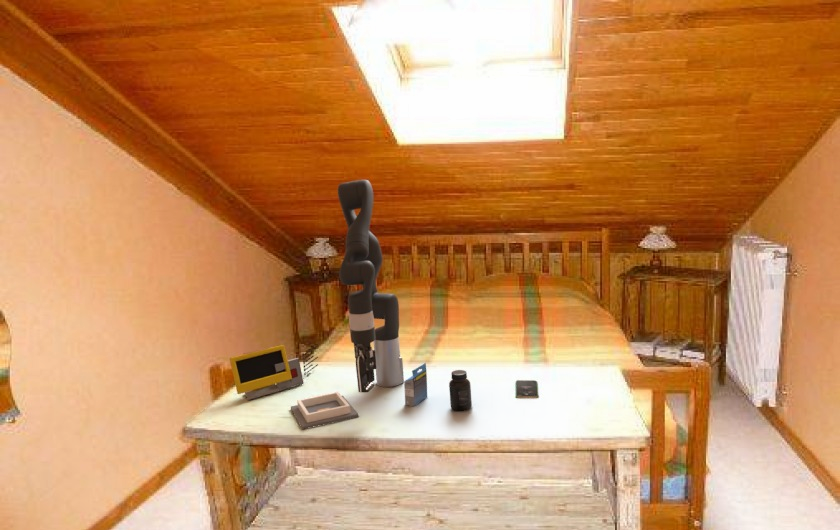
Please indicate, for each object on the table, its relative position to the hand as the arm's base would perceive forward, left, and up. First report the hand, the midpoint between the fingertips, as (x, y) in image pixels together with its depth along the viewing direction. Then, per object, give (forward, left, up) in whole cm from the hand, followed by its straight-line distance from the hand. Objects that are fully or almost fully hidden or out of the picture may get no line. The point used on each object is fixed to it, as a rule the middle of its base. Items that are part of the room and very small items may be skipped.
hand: (366, 377), depth 190 cm
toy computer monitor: (+26, -44, -14) cm, 53 cm away
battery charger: (0, 0, -4) cm, 4 cm away
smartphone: (-55, +4, -15) cm, 57 cm away
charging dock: (+11, -14, -14) cm, 23 cm away
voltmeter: (+11, -50, -15) cm, 53 cm away
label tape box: (-19, -7, -15) cm, 25 cm away
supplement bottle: (-29, +6, -15) cm, 33 cm away
